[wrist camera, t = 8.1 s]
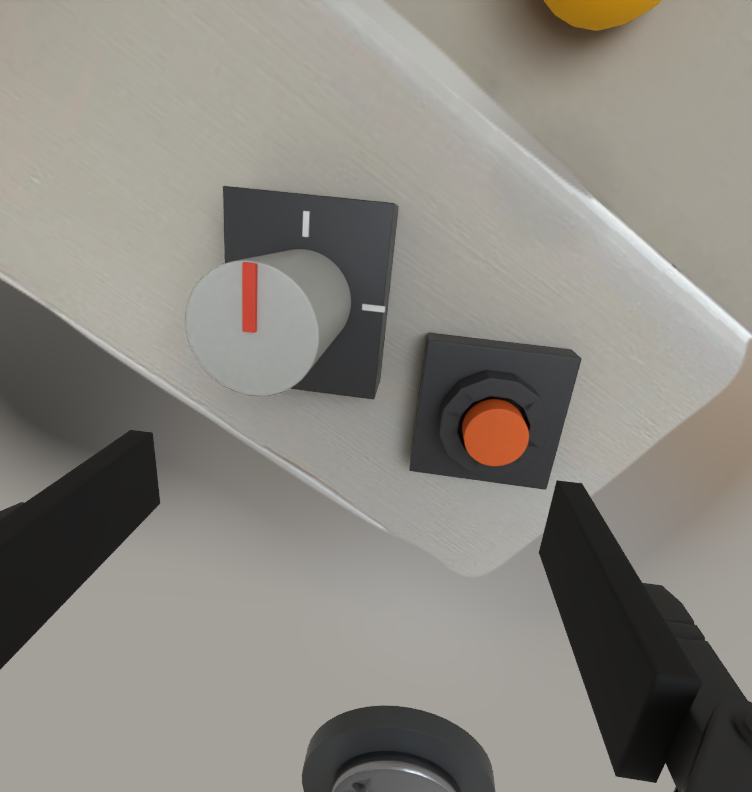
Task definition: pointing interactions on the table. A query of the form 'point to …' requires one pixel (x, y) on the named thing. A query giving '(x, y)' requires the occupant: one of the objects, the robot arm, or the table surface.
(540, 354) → the button base
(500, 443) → the power button
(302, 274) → the timer dial
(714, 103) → the table surface
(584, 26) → the yellow orange fruit
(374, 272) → the dial panel
